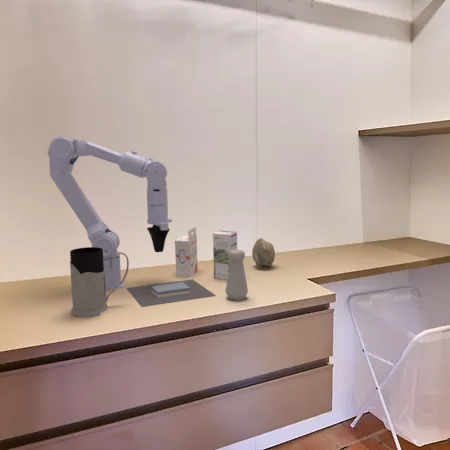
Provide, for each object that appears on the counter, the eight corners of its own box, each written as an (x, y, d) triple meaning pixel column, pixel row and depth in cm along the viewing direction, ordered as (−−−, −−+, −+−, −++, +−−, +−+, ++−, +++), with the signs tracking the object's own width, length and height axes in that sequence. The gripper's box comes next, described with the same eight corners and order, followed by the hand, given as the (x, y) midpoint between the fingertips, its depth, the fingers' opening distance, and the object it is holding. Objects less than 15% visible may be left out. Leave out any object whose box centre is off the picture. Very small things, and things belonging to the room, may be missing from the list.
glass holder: (69, 307, 111) (65, 248, 109) (126, 300, 116) (124, 243, 114) (72, 319, 103) (68, 255, 101) (134, 310, 109) (131, 249, 106)
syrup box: (238, 276, 138) (237, 230, 136) (230, 281, 133) (229, 233, 130) (221, 275, 140) (220, 229, 138) (213, 279, 135) (212, 232, 133)
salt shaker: (240, 304, 112) (240, 253, 110) (221, 300, 115) (220, 251, 113) (251, 298, 117) (251, 249, 115) (233, 294, 120) (232, 247, 118)
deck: (151, 291, 122) (157, 298, 117) (151, 286, 122) (157, 292, 116) (182, 287, 126) (190, 293, 120) (182, 282, 125) (190, 287, 120)
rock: (262, 272, 143) (262, 241, 142) (244, 267, 150) (244, 238, 148) (282, 267, 150) (282, 237, 148) (263, 262, 156) (263, 234, 154)
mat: (141, 308, 110) (141, 306, 110) (126, 289, 126) (126, 288, 126) (216, 297, 118) (216, 295, 118) (192, 280, 134) (192, 279, 134)
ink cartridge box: (183, 270, 146) (182, 226, 144) (197, 271, 145) (197, 226, 143) (175, 277, 138) (173, 230, 136) (190, 278, 137) (189, 230, 135)
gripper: (178, 206, 122) (179, 255, 124) (164, 201, 135) (165, 246, 137) (153, 207, 119) (154, 257, 121) (141, 202, 132) (142, 247, 134)
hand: (158, 251), depth 129 cm, fingers closed
